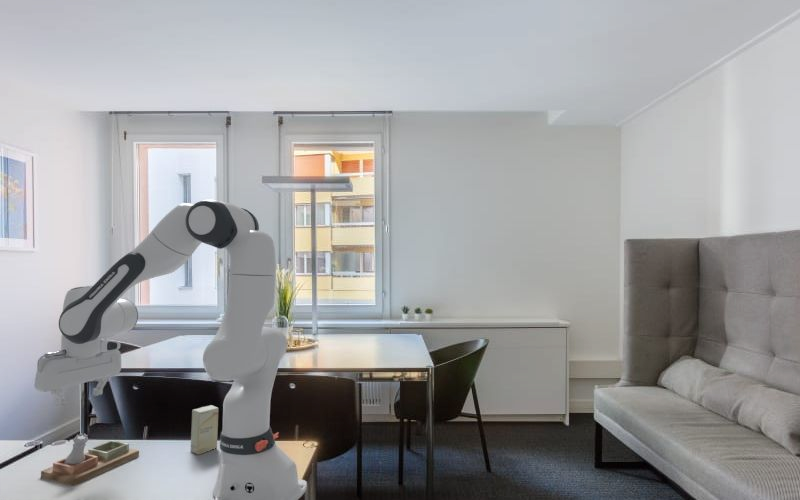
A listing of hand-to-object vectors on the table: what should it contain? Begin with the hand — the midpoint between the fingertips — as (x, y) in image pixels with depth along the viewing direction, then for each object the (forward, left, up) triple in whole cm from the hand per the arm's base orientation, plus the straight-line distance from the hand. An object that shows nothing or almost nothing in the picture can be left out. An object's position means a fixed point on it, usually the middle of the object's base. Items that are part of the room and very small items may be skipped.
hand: (79, 399), depth 113 cm
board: (0, -4, -19) cm, 19 cm away
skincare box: (-20, -23, -19) cm, 36 cm away
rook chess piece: (+1, 0, -17) cm, 17 cm away
